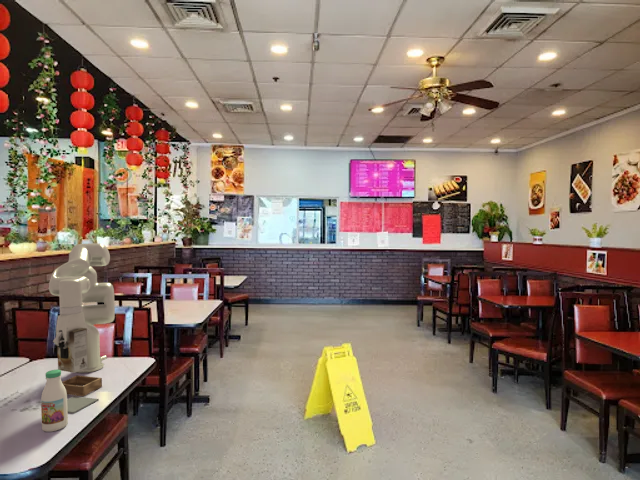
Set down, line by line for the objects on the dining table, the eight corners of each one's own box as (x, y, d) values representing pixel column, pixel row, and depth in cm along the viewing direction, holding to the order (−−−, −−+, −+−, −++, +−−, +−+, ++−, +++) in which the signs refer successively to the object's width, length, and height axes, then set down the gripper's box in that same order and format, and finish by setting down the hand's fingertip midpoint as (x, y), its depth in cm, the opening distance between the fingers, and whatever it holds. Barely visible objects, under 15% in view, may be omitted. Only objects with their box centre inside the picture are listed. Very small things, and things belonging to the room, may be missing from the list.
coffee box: (56, 370, 161) (55, 330, 160) (71, 365, 167) (70, 326, 166) (74, 373, 158) (73, 331, 157) (88, 367, 164) (87, 327, 163)
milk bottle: (49, 422, 149) (48, 367, 148) (72, 421, 149) (70, 367, 148) (37, 433, 141) (35, 375, 140) (60, 432, 142) (58, 375, 141)
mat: (74, 397, 170) (74, 396, 170) (98, 400, 167) (98, 398, 167) (48, 410, 158) (48, 408, 158) (73, 413, 155) (73, 412, 155)
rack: (77, 384, 184) (76, 375, 184) (102, 386, 181) (101, 377, 181) (57, 393, 174) (56, 384, 174) (83, 396, 171) (82, 386, 171)
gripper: (81, 305, 170) (82, 348, 171) (43, 314, 154) (45, 361, 154) (96, 306, 169) (97, 349, 169) (59, 315, 152) (61, 363, 152)
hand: (72, 354), depth 162 cm, fingers closed on coffee box, 6 cm apart
